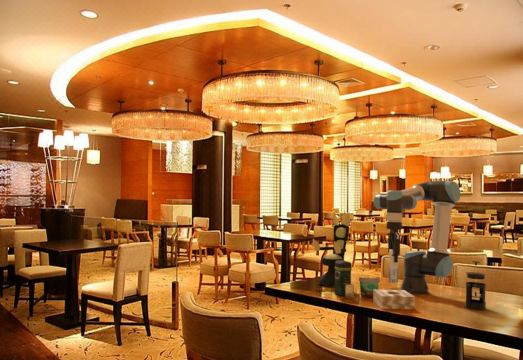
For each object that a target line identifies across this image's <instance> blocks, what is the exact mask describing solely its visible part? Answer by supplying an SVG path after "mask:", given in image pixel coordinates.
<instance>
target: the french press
mask: <svg viewBox="0 0 523 360" xmlns="http://www.w3.org/2000/svg"><path fill="white" fill-rule="evenodd" d="M471 263H474V265H475V266H478V264H481V263H482V262H481V261H477V260H472V261H471ZM465 274H466V278H467V279H471V280H475V281H466V282H465V298H466V299H465V308H466V309H468V308H469V310H473V309H475V310H474V311H485V309H486V310H487V306H486V305H487V302H486V288H487V285H486V283H484V282H478V281H477V280H485V278H486V276H487V275H486V273H483V272H477V271H475V272H474V271H473V272H472V271H470V272H466V273H465ZM474 288H475V291H474V292H473V289H474ZM477 289H478V291H479V293H477ZM473 298H477V299H473Z"/></svg>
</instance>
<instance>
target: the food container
mask: <svg viewBox="0 0 523 360" xmlns="http://www.w3.org/2000/svg"><path fill="white" fill-rule="evenodd" d="M358 281H359V288H360V289H359V290H360V291H359V292H360V296H362V297H367V298H373V289H375V290H379V284H380V282H381V279H380V276H377V277H361V276H359V278H358Z"/></svg>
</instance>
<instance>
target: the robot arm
mask: <svg viewBox="0 0 523 360" xmlns="http://www.w3.org/2000/svg"><path fill="white" fill-rule="evenodd" d="M386 192H387V193H386V194H376V195H375V196H374V198H373V206H374V208H376V209H379V210H380V209H383V210H385V209H386V214H385V217H386V221H387V222H386V229H387V230H390V231H389V232H388V233H387V253H389V249H393V254H392V269H398V270H399V256H400V255H401V238H402V235H401V234H400V233H399V230H402V229H403V210H405V211H406V210H407V211H411V210H414V209H415V208H416V207H417V205H418V202H420V201H421V202H423V201H426V202H432V204H433V206H435V207H434V214H433V215H434V217H433V223H432V225H433V226H432V234H431V244H430V248H429V249H427V253H426V251H425V250H415V251H414V250H413V251H406V252H405V253H404V258H403V260H404V261H403V263H404V264H403V266H404V267H403V271H404V272H403V273H404V274H403V279H402V283H401V285H400V290H405V291H406V292H408V293H409V294H416V295H417V294H418V295H419V294H420V295H423V294H428V293H429V287H428V283H427V280H426V276H431V277H437V278H447V277H448V276H449V275H450V274H451V273H452V271H453V267H454V260H453V258H452V257H451V253H449V251H448V244H449V236H450V228H451V215H452V209H453V208H454V207H456V203H457V202H459V201H460V199H461V190H460V187H459V184H458V183H457V182H455V181H453V180H437V181H436V180H435V181H434V180H433V181H432V180H428V181H425V182H420V183H418V184H417V183H416V184H414V185H412V186H411V187H409V188H405V189H401V190H388V191H386Z"/></svg>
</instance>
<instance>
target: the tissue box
mask: <svg viewBox="0 0 523 360" xmlns="http://www.w3.org/2000/svg"><path fill="white" fill-rule="evenodd" d="M372 299H373V300H372V301H373V303H374V304H375V305H377V306H378V308H380V309H382V310H384V309H385V310H414V309H416V308H415V307H416V297H415V296H414V295H413V294H412V293H408V292H406V291H405V290H401V289H378V290H375V289H373V297H372Z"/></svg>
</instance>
